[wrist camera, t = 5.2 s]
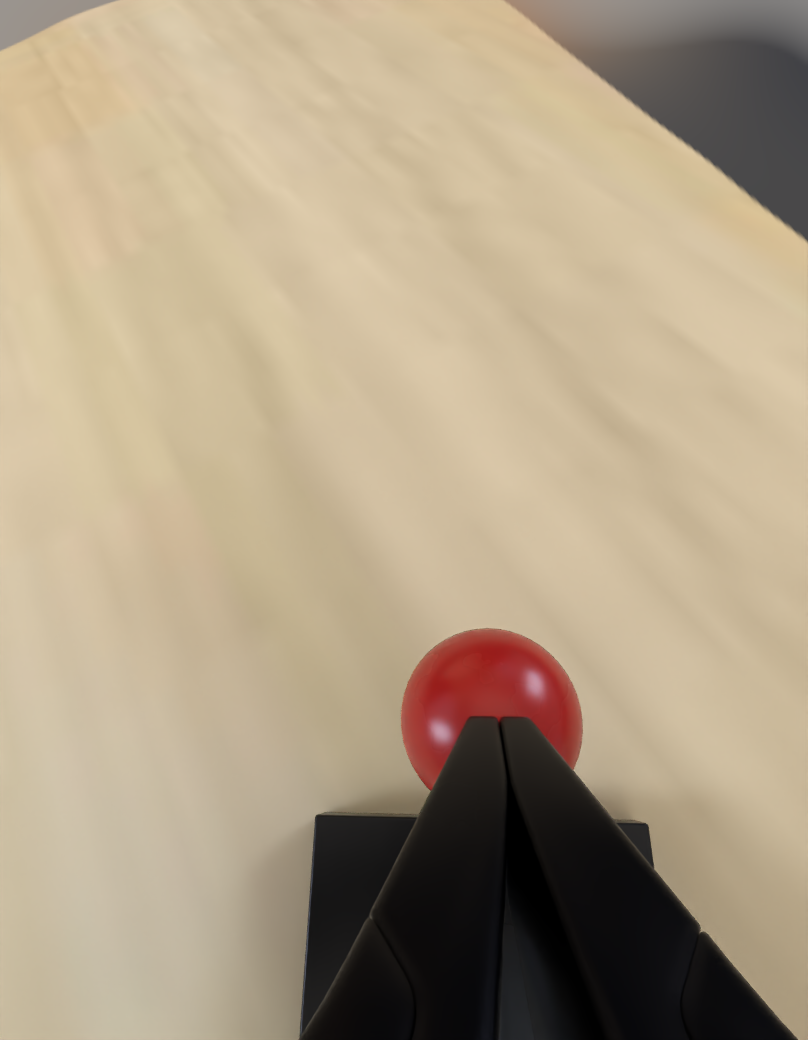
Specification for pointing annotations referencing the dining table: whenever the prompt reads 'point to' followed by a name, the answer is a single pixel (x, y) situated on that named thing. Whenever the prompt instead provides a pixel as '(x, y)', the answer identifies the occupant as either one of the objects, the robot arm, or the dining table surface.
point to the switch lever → (498, 692)
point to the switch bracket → (363, 887)
